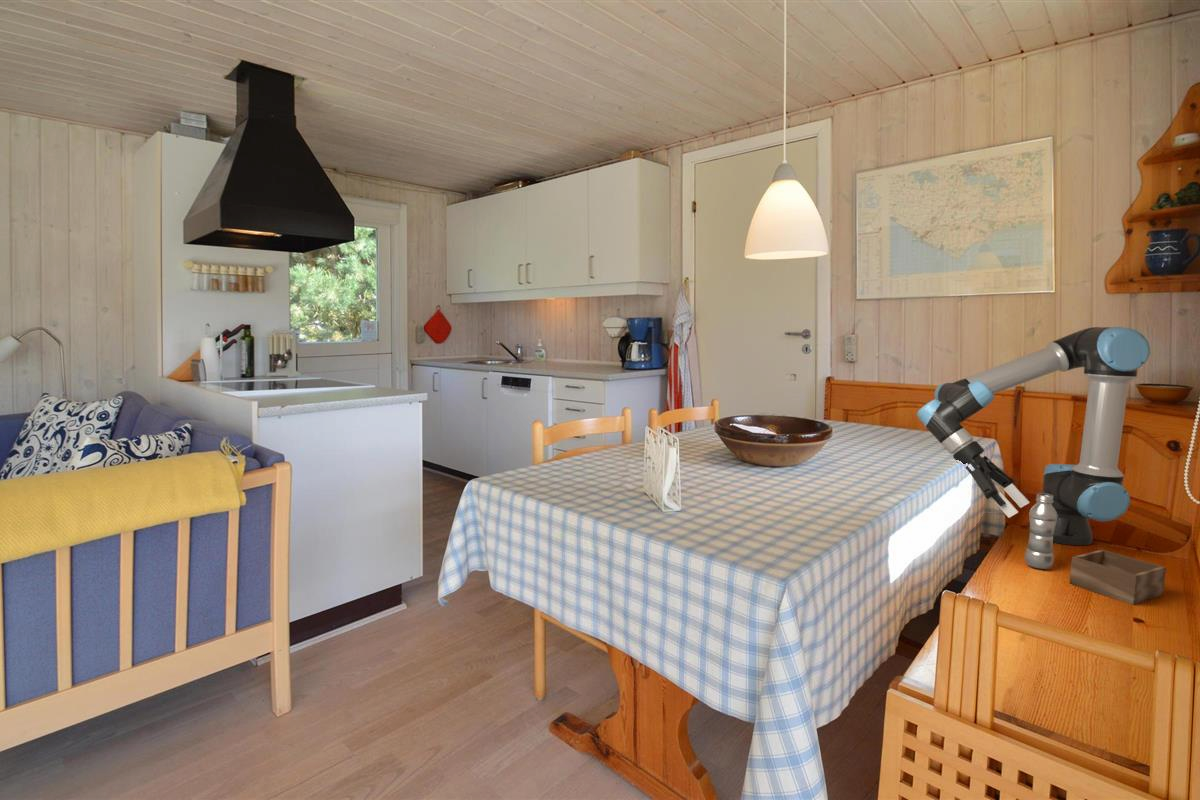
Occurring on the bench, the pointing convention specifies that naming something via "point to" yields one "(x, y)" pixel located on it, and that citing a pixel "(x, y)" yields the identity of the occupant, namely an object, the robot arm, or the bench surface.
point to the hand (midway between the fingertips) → (1019, 510)
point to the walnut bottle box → (1117, 576)
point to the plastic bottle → (1041, 532)
